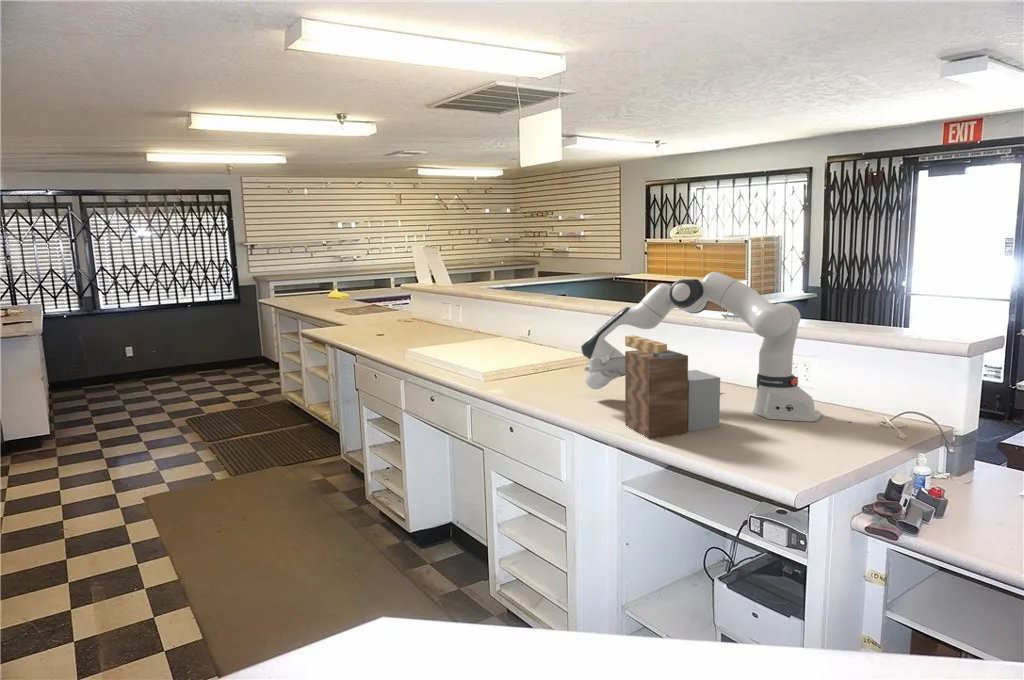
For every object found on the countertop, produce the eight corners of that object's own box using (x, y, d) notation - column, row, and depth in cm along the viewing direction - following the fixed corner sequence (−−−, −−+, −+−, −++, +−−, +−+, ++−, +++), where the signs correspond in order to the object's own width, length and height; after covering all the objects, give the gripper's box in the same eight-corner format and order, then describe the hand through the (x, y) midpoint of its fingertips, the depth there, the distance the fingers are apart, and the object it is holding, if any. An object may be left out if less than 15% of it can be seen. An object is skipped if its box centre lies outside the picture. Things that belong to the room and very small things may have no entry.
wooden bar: (620, 346, 233) (620, 336, 232) (638, 344, 235) (638, 334, 234) (662, 359, 207) (662, 348, 206) (681, 357, 209) (682, 346, 208)
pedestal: (625, 426, 226) (625, 351, 222) (661, 421, 231) (661, 348, 227) (649, 439, 211) (649, 359, 207) (687, 433, 216) (688, 355, 212)
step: (665, 420, 232) (666, 373, 229) (695, 416, 235) (696, 369, 233) (688, 431, 219) (688, 380, 216) (719, 427, 222) (720, 377, 220)
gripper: (580, 363, 250) (594, 350, 238) (629, 358, 257) (644, 345, 244) (584, 379, 248) (598, 366, 236) (633, 374, 254) (649, 361, 242)
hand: (622, 355), depth 240 cm, fingers open, 8 cm apart
